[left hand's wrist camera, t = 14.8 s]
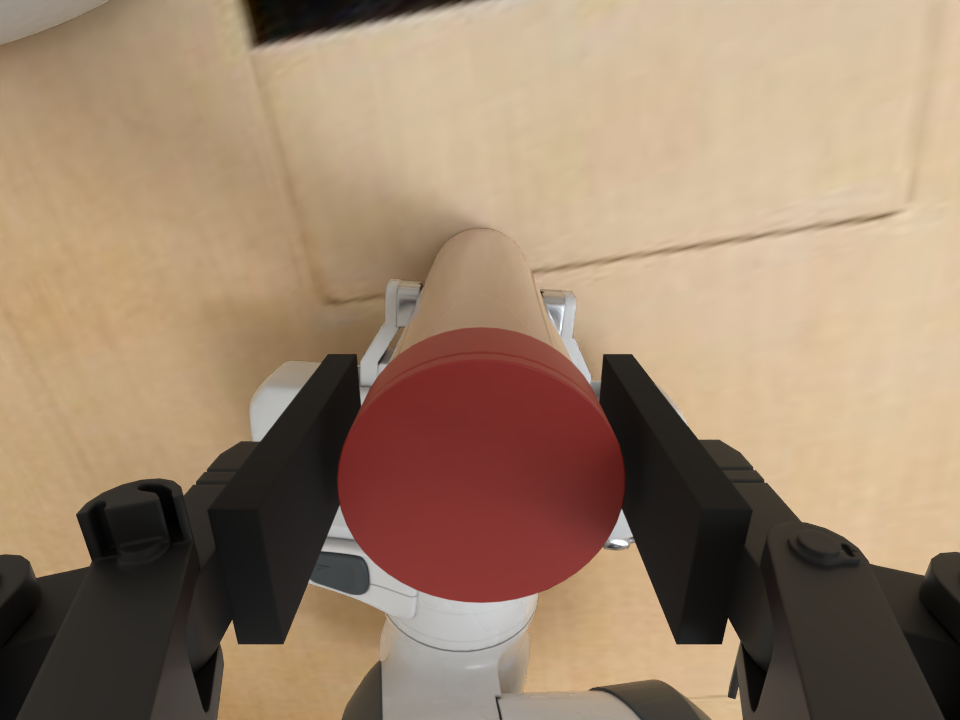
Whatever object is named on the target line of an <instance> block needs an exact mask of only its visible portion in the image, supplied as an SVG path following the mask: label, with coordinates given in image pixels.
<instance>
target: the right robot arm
mask: <svg viewBox="0 0 960 720" xmlns="http://www.w3.org/2000/svg"><path fill="white" fill-rule="evenodd" d="M422 287H423V281H412V280H401V279H390V281H389V282H388V283H387V287H386V294H385V322H384V323H383V325H382V327H381V328H380V330H379V331H378V333H377V335H376V336H375V338H374V339H373V341H372V343H371V344H370V346H369V348H368V349H367V351H366V353H365V354H364V356H363V358H362V359H361V361H360V365H358V376H359V387H360V398H361V406H362V404H363V401H364V399H365V397H366V395H367V393H368V391H369V389H370V388H371V386H372V384H373V383H374V381H375V380H376V378H377V377H378V375H379V374H380V373H381V372H382V371H383V370H384V368H385V367H386V366H387V365H388V364H389V361H390V359H391V357H392V355H393V353H394V350H395V348H387V347H388V346H389V344H390V342H391V341H392V339H393V338H394V336H395V335H396V333H397V331H398V330H399V328H400V327H405V326H406V323H407V321H408V319H409V317H410V314H411V312H412V310H413V308H414V305H415V303H416V301H417V299H418V296H419V294H420V292H421V290H422ZM540 292H541V294H542V296H543V299H544V301H545V303H546V305H547V307H548V310H549V312H550V314H551V316H552V318H553V321H554V323H555V325H556V327H557V329H558V331H559V334H560V336H561V338H562V340H563V342H564V345H565V347H566V349H567V351H568V353H569V355H570V358H571V360H572V362H573V364H574V365H575V366H576V367H577V368H578V369H579V370H580V372H581V373H582V374H583V375H584V376H585V378H586V379H587V381H588V382H589V384H590V386H591V387H592V389H593V391H594V393H595V395H596V397H597V399H598V401H599V398H600V387H601V380H591V375H590V373H589V370H588V368H587V366H586V363H585V361H584V359H583V357H582V354H581V352H580V350H579V348H578V345H577V343H576V341H575V339H574V337H573V335H572V333H573V326H574V319H575V312H576V296H575V295H574V294H573V292H572V291H562V290H545V289H540ZM321 363H322V362H308V361H287V362H285V363H283V364H282V365H281V366H279V367H278V368H277V369H276V370H275V371H274V372H273V373H272V374H270V375H269V376H268V377H267V378H266V379H265V380H264V382H263V383H262V384H261V385H260V386H259V388H258V389H257V390H256V392H255V393H254V395H253V397H252V399H251V402H250V408H249V417H250V428H251V436H252V441H261V440H262V439H263V437H264V436H265V435H266V433H267V432H268V431H269V430H270V428H271V427H272V426H273V424H274V423H275V422H276V421H277V419H278V418H279V417H280V415H281V414H282V413H283V412H284V410H285V409H286V408H287V406H288V405H289V404H290V403H291V401H292V400H293V399H294V397H295V396H296V395H297V394H298V392H299V391H300V390H301V388H302V387H303V386H304V385H305V383H306V382H307V381H308V380H309V378H310V377H311V376H312V374H313V373H314V372H315V371H316V369H317V368H318V367H319V365H320V364H321ZM655 385H656V384H655ZM656 386H657V387H658V389H659V390H660V391H661V392H662V394H663V395H664V396H665V397H666V399H667V400H668V401H669V403H670V404H671V405H672V406H673V408H674V409H675V410H676V412H677V413H678V414H679V415H680V417H681V418H682V419H683V421H684V422H685V423H686V424H687V421H686V419H685V417H684V415H683V414H682V412H681V411H680V409H679V408H678V406H677V405H676V403H675V402H674V401H673V400H672V399H671V398H670V396H669V395H668V394H667V393H666V392H665V391H664V390H663V389H662V388H661V387H660V386H658V385H656ZM687 426H688V424H687ZM630 543H635V540H634V538H633V535H632V533H631V530H630V528H629V525H628V523H627V521H626V518H625V516H624V513H623V511H622V509H621V512H620V515H619V518H618V521H617V523H616V525H615V527H614V529H613V531H612V533H611V535H610V537H609V538H608V540H607V541H606V543H605V544H604V545H603V547H602V548H604V549H606V550H625V549H628V548H629V547H630ZM308 583H309V584H312V585H316V586H319V587H322V588H325V589H329V590H332V591H335V592H338V593H341V594H343V595H346V596H349V597H352V598H354V599H357V600H359V601H362V602H364V603H366V604H369V605H371V606H373V607H375V608H377V609H379V610H381V611H383V612H384V613H385V616H386V620H385V623H384V626H383V629H382V633H381V639H380V660H379V661H378V662H377V663H376V664H375V665H374V666H373V667H372V668H371V670H370V671H369V672H368V673H367V675H366V676H365V677H364V679H363V680H362V682H361V683H360V685H359V687H358V688H357V690H356V691H355V693H354V694H353V696H352V697H351V699H350V700H349V702H348V704H347V706H346V708H345V711H344V714H343V717H342V720H711V719H710V718H709V717H708V716H707V715H706V714H705V713H704V712H703V711H702V710H701V709H699V708H698V707H697V706H696V705H695V704H693V703H692V702H691V701H690V700H689V699H687V698H686V697H685V696H684V695H682V694H681V693H679V692H678V691H677V690H675V689H674V688H673V687H671V686H670V685H668V684H667V683H665V682H662V681H660V680H646V681H638V682H631V683H624V684H617V685H609V686H602V687H596V688H592V689H590V690H588V691H562V692H527V693H523V692H524V687H525V682H526V676H527V671H528V665H529V658H530V639H529V633H528V627H529V625H530V623H531V621H532V619H533V617H534V614H535V611H536V607H537V602H538V595H539V593H536V594H534V595H531V596H527V597H523V598H519V599H515V600H509V601H502V602H490V603H471V602H460V601H453V600H447V599H443V598H439V597H435V596H431V595H429V594H426V593H423V592H420V591H418V590H415V589H413V588H411V587H409V586H407V585H405V584H403V583H401V582H399V581H398V580H396V579H395V578H393V577H392V576H390V575H388V574H387V573H386V572H385V571H383V570H382V569H381V568H380V567H378V566H377V565H376V564H375V563H374V562H373V561H372V560H371V559H370V558H369V557H368V556H367V555H366V554H365V553H364V552H363V550H362V549H361V548H360V546H359V545H358V544H357V542H356V541H355V540H354V538H353V536H352V534H351V532H350V530H349V529H348V527H347V525H346V522H345V519H344V517H343V514H342V511H341V508H340V506H339V508H338V511H337V513H336V516H335V518H334V521H333V523H332V525H331V528H330V530H329V533H328V535H327V538H326V540H325V543H324V545H323V548H322V550H321V553H320V555H319V558H318V560H317V562H316V565H315V567H314V570H313V572H312V575H311V577H310V580H309V582H308Z"/></svg>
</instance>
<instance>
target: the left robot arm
mask: <svg viewBox="0 0 960 720" xmlns="http://www.w3.org/2000/svg"><path fill="white" fill-rule="evenodd" d="M599 403H600V405H601V407H602V409H603V411H604V413H605V415H606V417H607V419H608V421H609V424H610V426H611V428H612V430H613V432H614V434H615V436H616V438H617V440H618V443H619V445H620V449H621V452H622V456H623V459H624V467H625V475H626V479H625V495H624V500H623V505H622V511H623V513H624V516H625V518H626V521H627V523H628V525H629V528H630V530H631V533H632V535H633V538H634V540H635V543H636V545H637V548H638V550H639V553H640V555H641V558H642V560H643V562H644V565H645V567H646V570H647V572H648V575H649V577H650V580H651V582H652V585H653V587H654V590H655V592H656V595H657V597H658V599H659V602H660V604H661V607H662V609H663V612H664V614H665V617H666V619H667V622H668V624H669V627H670V629H671V632H672V634H673V637H674V639H675V641H676V644H722V641H723V637H724V633H725V628H726V624H727V620H728V618H729V620H730V622H731V624H732V626H733V627H734V629H735V631H736V633H737V635H738V637H739V638H740V640H741V641H740V645H739V649H738V653H737V657H736V661H735V665H734V669H733V673H732V677H731V681H730V686H729V692H728V697H730V698H733V699H735V698H736V694H737V691H738V687H739V691H740V699H741V707H742V715H743V720H960V553H959V552H949V553H940V554H938V555H937V556H935V557H934V558H932V559H931V562H930V564H929V567H928V569H927V572H926V574H925V576H923V575H918V574H914V573H909V572H904V571H899V570H895V569H890V568H885V567H880V566H876V565H872V564H870V563H869V561H868V560H867V559H866V557H865V556H864V555H863V553H862V552H861V551H860V549H859V548H858V547H856V546H855V545H854V544H852V543H851V542H850V541H848V540H847V539H845V538H844V537H842V536H840V535H838V534H836V533H834V532H832V531H830V530H828V529H826V528H823V527H819V526H816V525H813V524H809V523H804V522H801V521H800V520H799V518H798V517H797V516H796V515H795V514H794V513H793V512H792V511H791V509H790V508H789V507H788V506H787V505H786V504H785V503H784V502H783V500H782V499H781V498H780V497H779V496H778V495H777V494H776V493H775V491H774V490H773V489H772V488H771V487H770V486H769V485H768V484H767V483H764V479H763V478H762V477H761V476H760V474H759V473H758V472H757V471H756V470H753V467H752V465H751V464H750V463H749V462H748V461H747V460H746V459H745V458H744V456H743V455H742V454H741V453H740V452H738V451H737V450H735V449H733V448H732V447H730V446H729V445H727V444H725V443H724V442H722V441H720V440H698V439H697V437H696V436H695V435H694V433H693V432H692V431H691V430H690V428H689V427H688V426H687V424H686V423H685V422H684V421H683V419H682V418H681V417H680V415H679V414H678V413H677V412H676V410H675V409H674V408H673V406H672V405H671V404H670V403H669V401H668V400H667V399H666V397H665V396H664V395H663V394H662V392H661V391H660V390H659V389H658V387H657V386H656V385H655V383H654V382H653V381H652V380H651V378H650V377H649V376H648V374H647V373H646V372H645V371H644V369H643V368H642V367H641V365H640V364H639V363H638V362H637V360H636V359H635V358H634V356H633V355H632V354H603V365H602V376H601V387H600V398H599ZM360 408H361V398H360V387H359V376H358V365H357V355H356V354H328V355H327V356H326V358H325V359H324V360H323V362H322V363H321V364H320V365H319V367H318V368H317V369H316V371H315V372H314V373H313V374H312V376H311V377H310V378H309V380H308V381H307V382H306V383H305V385H304V386H303V387H302V388H301V390H300V391H299V392H298V394H297V395H296V396H295V397H294V399H293V400H292V401H291V403H290V404H289V405H288V406H287V408H286V409H285V410H284V412H283V413H282V414H281V415H280V417H279V418H278V419H277V421H276V422H275V423H274V424H273V426H272V427H271V428H270V430H269V431H268V432H267V433H266V435H265V436H264V437H263V439H262V440H261V441H241V442H240V443H238V444H236V445H235V446H233V447H231V448H230V449H228V450H226V451H225V452H223V453H222V454H220V455H219V456H218V457H217V459H216V460H215V461H214V462H213V463H212V464H211V465H210V467H209V468H208V469H207V472H204V473H203V475H202V476H201V477H200V478H199V479H198V480H197V481H196V485H193V486H192V487H191V488H190V489H189V490H188V492H187V493H186V494H185V495H184V496H183V493H182V488H181V486H179V485H178V484H177V483H175V482H174V481H171V480H165V479H160V478H159V479H146V480H139V481H135V482H131V483H127V484H123V485H120V486H118V487H115V488H113V489H111V490H108V491H106V492H103V493H102V494H100V495H99V496H97V497H95V498H94V499H92V500H91V501H89V502H88V503H86V504H85V505H84V506H83V508H82V509H81V510H80V511H79V512H78V513H77V514H76V516H77V519H78V522H79V525H80V527H81V530H82V533H83V536H84V539H85V542H86V545H87V548H88V551H89V554H90V557H91V559H92V562H91V565H90V566H89V567H85V568H81V569H77V570H72V571H67V572H62V573H58V574H53V575H48V576H44V577H39V578H36V577H35V574H34V572H33V569H32V567H31V564H30V562H29V561H28V560H27V559H25V558H24V557H22V556H20V555H7V554H4V555H0V720H217V717H218V708H219V700H220V692H221V684H222V676H223V668H224V661H223V654H222V649H221V645H220V641H221V639H222V638H223V636H224V634H225V632H226V630H227V628H228V626H229V625H230V623H231V621H232V620H233V624H234V628H235V633H236V637H237V641H238V644H284V641H285V639H286V636H287V634H288V632H289V629H290V627H291V624H292V622H293V619H294V617H295V614H296V612H297V609H298V607H299V604H300V602H301V599H302V597H303V595H304V592H305V590H306V587H307V585H308V582H309V580H310V577H311V575H312V572H313V570H314V567H315V565H316V562H317V560H318V558H319V555H320V553H321V550H322V548H323V545H324V543H325V540H326V538H327V535H328V533H329V530H330V528H331V525H332V523H333V521H334V518H335V516H336V513H337V511H338V508H339V506H340V503H339V498H338V491H337V472H338V462H339V458H340V454H341V451H342V447H343V444H344V442H345V440H346V438H347V435H348V433H349V431H350V429H351V427H352V424H353V423H354V420H355V418H356V416H357V414H358V412H359V410H360Z"/></svg>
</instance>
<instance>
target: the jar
mask: <svg viewBox="0 0 960 720" xmlns="http://www.w3.org/2000/svg"><path fill="white" fill-rule="evenodd" d="M476 327H486V328H499V329H505V330H511V331H515V332H519V333H522V334H525V335H528V336H531V337H533V338H536V339H538V340H540V341H542V342H544V343H546V344H548V345H550V346H551V347H553V348H554V349H556V350H557V351H559V352H561V353H562V354H563V355H564V356H565V357H566V358H568V359H569V360H570V361H571V362H572V360H571V358H570V355H569V353H568V351H567V349H566V347H565V345H564V342H563V340H562V338H561V336H560V334H559V331H558V329H557V327H556V325H555V323H554V321H553V318H552V316H551V314H550V312H549V310H548V307H547V305H546V303H545V301H544V299H543V296H542V294H541V292H540V290H539V288H538V286H537V283H536V281H535V279H534V277H533V275H532V272H531V270H530V268H529V266H528V264H527V262H526V259H525V257H524V255H523V253H522V251H521V250H520V248H519V247H518V246H517V245H516V244H515V242H513V241H512V240H511V239H510V238H509V237H507V236H506V235H504V234H502V233H500V232H497V231H494V230H490V229H483V228H477V229H470V230H466V231H463V232H461V233H459V234H457V235H455V236H453V237H452V238H451V239H449V240H448V241H447V242H446V243H445V244H444V245H443V246H442V248H441V249H440V251H439V252H438V254H437V256H436V258H435V260H434V263H433V265H432V267H431V269H430V272H429V274H428V276H427V278H426V281H425V283H424V285H423V287H422V290H421V292H420V294H419V296H418V299H417V301H416V303H415V305H414V308H413V310H412V312H411V314H410V317H409V319H408V321H407V323H406V326H405V328H404V330H403V332H402V335H401V337H400V339H399V341H398V344H397V346H396V348H395V350H394V353H393V355H392V357H391V359H390V361H389V363H390V362H391V361H392V360H394V359H395V358H396V357H397V356H398V355H399V354H401V353H402V352H404V351H405V350H407V349H408V348H410V347H411V346H413V345H414V344H416V343H418V342H420V341H422V340H424V339H427V338H429V337H431V336H434V335H437V334H440V333H443V332H447V331H452V330H457V329H462V328H476ZM572 363H573V362H572Z"/></svg>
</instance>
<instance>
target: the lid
mask: <svg viewBox="0 0 960 720" xmlns="http://www.w3.org/2000/svg"><path fill="white" fill-rule="evenodd" d="M625 479H626V475H625V467H624V459H623V456H622V452H621V449H620V445H619V443H618V440H617V438H616V436H615V434H614V432H613V430H612V428H611V426H610V424H609V421H608V419H607V417H606V415H605V413H604V411H603V409H602V407H601V405H600V403H599V401H598V399H597V397H596V395H595V393H594V391H593V389H592V387H591V386H590V384H589V382H588V381H587V379H586V378H585V376H584V375H583V374H582V373H581V372H580V370H579V369H578V368H577V367H576V366H575V365H574V364H573V363H572V362H571V361H570V360H569V359H568V358H566V357H565V356H564V355H563V354H562V353H561V352H559V351H557V350H556V349H554V348H553V347H551V346H550V345H548V344H546V343H544V342H542V341H540V340H538V339H536V338H533V337H531V336H528V335H525V334H522V333H519V332H515V331H511V330H505V329H499V328H486V327H476V328H462V329H457V330H452V331H447V332H443V333H440V334H437V335H434V336H431V337H429V338H427V339H424V340H422V341H420V342H418V343H416V344H414V345H413V346H411V347H410V348H408V349H407V350H405V351H404V352H402V353H401V354H399V355H398V356H397V357H396V358H395V359H394V360H392V361H391V362H390V363H389V364H388V365H387V366H386V367H385V368H384V370H383V371H382V372H381V373H380V374H379V375H378V377H377V378H376V380H375V381H374V383H373V384H372V386H371V388H370V389H369V391H368V393H367V395H366V397H365V399H364V401H363V404H362V406H361V408H360V410H359V412H358V414H357V416H356V418H355V420H354V423H353V424H352V427H351V429H350V431H349V433H348V435H347V438H346V440H345V442H344V444H343V447H342V451H341V454H340V458H339V462H338V472H337V491H338V498H339V503H340V508H341V511H342V514H343V517H344V519H345V522H346V525H347V527H348V529H349V530H350V532H351V534H352V536H353V538H354V540H355V541H356V542H357V544H358V545H359V546H360V548H361V549H362V550H363V552H364V553H365V554H366V555H367V556H368V557H369V558H370V559H371V560H372V561H373V562H374V563H375V564H376V565H377V566H378V567H380V568H381V569H382V570H383V571H385V572H386V573H387V574H388V575H390V576H392V577H393V578H395V579H396V580H398V581H399V582H401V583H403V584H405V585H407V586H409V587H411V588H413V589H415V590H418V591H420V592H423V593H426V594H429V595H431V596H435V597H439V598H443V599H447V600H453V601H460V602H471V603H490V602H502V601H509V600H515V599H519V598H523V597H527V596H531V595H534V594H536V593H539V592H542V591H544V590H547V589H549V588H551V587H553V586H555V585H557V584H559V583H561V582H563V581H564V580H566V579H568V578H569V577H571V576H572V575H574V574H575V573H577V572H578V571H579V570H580V569H581V568H583V567H584V566H585V565H586V564H587V563H589V562H590V561H591V559H592V558H593V557H594V556H595V555H596V554H597V553H598V552H599V551H600V550H601V548H602V547H603V545H604V544H605V543H606V541H607V540H608V538H609V537H610V535H611V533H612V531H613V529H614V527H615V525H616V523H617V521H618V518H619V515H620V512H621V509H622V505H623V500H624V495H625Z"/></svg>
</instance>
